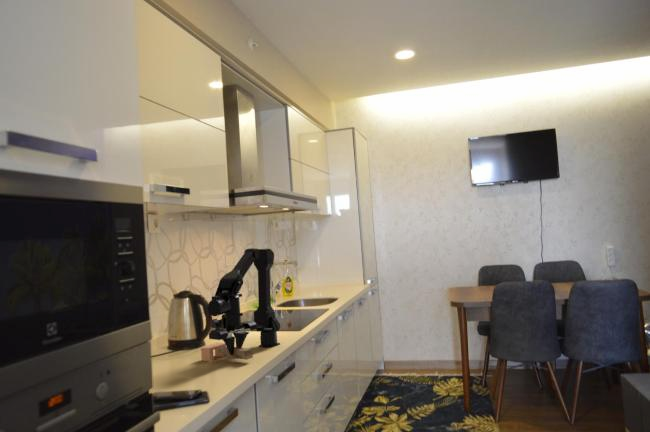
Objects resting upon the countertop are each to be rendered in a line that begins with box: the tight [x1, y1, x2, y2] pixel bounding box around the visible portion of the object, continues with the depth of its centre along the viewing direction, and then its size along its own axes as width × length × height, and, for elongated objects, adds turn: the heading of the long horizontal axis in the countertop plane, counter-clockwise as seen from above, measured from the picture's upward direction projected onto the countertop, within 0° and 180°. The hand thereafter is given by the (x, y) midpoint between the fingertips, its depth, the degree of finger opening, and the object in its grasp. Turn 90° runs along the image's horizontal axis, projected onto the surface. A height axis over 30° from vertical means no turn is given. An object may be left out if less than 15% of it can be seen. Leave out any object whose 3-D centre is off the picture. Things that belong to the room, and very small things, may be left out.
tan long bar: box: [219, 346, 254, 361], centre depth 173 cm, size 15×3×3 cm, turn 54°
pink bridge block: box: [200, 342, 227, 362], centre depth 179 cm, size 8×5×5 cm, turn 144°
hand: (235, 353), depth 173 cm, fingers closed on tan long bar, 3 cm apart
